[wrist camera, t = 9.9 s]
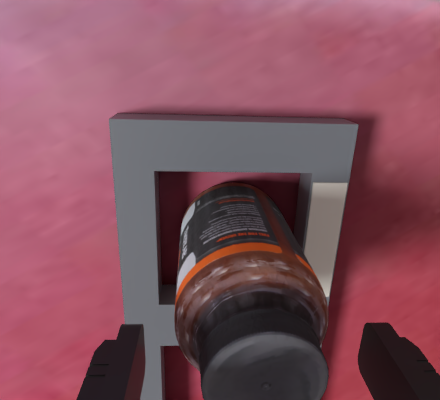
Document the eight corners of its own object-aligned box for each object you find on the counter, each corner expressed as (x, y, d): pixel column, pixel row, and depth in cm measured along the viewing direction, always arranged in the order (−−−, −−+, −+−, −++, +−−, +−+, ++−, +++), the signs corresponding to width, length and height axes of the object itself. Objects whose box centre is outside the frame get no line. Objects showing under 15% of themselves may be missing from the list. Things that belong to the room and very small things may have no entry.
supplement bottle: (159, 217, 21) (123, 375, 10) (244, 158, 20) (298, 265, 9) (219, 286, 23) (240, 477, 12) (299, 235, 22) (394, 395, 11)
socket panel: (343, 118, 20) (359, 124, 18) (295, 430, 28) (303, 458, 26) (117, 113, 19) (108, 119, 17) (140, 436, 27) (135, 465, 25)
